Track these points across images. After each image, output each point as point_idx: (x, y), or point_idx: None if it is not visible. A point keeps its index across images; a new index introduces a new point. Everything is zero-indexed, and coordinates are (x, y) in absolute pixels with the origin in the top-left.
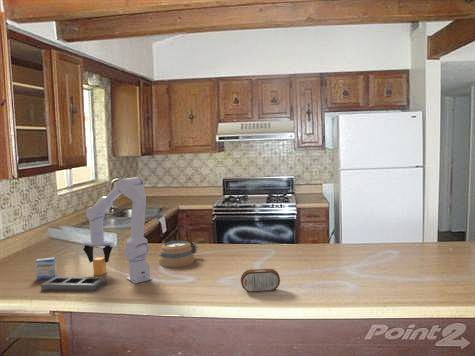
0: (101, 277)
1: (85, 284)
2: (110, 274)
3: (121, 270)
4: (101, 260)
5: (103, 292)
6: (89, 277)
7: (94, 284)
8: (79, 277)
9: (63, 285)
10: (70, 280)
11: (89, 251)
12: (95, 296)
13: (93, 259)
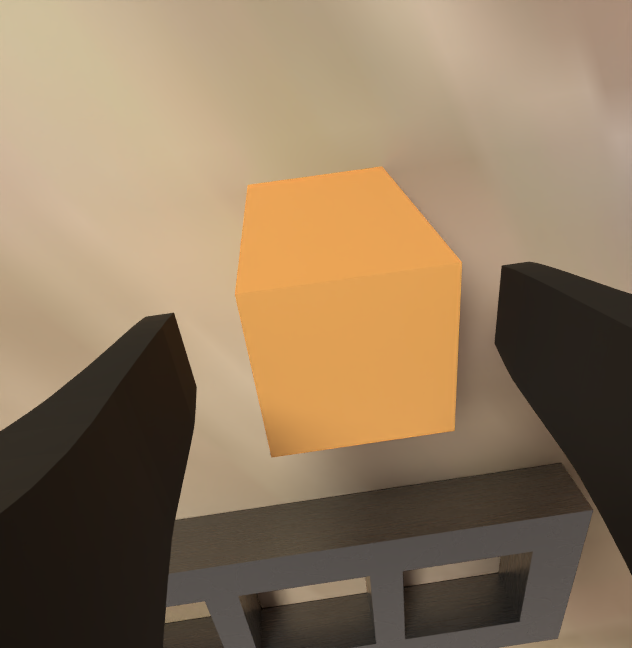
0: (541, 530)
1: (470, 645)
2: (496, 253)
3: (608, 44)
4: (447, 402)
5: (600, 589)
6: (410, 550)
7: (546, 632)
8: (300, 569)
9: None
10: (243, 598)
11: (145, 623)
12: (569, 632)
13: (269, 437)
